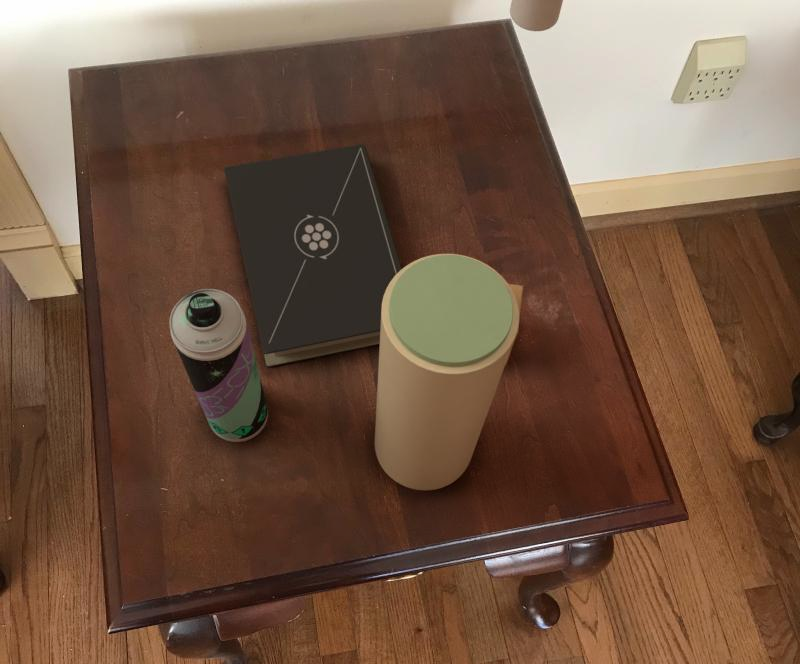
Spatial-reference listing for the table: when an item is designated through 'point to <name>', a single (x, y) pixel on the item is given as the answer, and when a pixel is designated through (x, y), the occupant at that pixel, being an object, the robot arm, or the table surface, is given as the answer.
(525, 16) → the vial
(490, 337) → the pad
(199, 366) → the spray can
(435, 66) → the table surface
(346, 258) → the book
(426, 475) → the pedestal
